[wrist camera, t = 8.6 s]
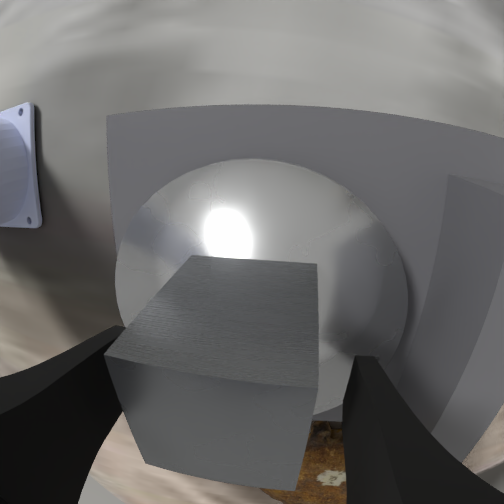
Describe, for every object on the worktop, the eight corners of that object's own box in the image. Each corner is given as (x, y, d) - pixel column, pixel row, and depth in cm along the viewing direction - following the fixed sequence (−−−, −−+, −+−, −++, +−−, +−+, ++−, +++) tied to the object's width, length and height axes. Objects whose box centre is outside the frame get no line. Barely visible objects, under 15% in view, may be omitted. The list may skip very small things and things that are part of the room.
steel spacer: (200, 352, 13) (145, 463, 8) (191, 254, 12) (103, 354, 6) (306, 364, 13) (294, 491, 7) (317, 263, 11) (318, 388, 6)
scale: (157, 374, 20) (111, 451, 13) (128, 116, 14) (25, 118, 8) (427, 397, 17) (450, 483, 11) (494, 139, 11) (591, 156, 5)
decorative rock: (414, 478, 22) (367, 390, 19) (421, 511, 18) (376, 434, 15) (308, 511, 25) (226, 438, 22) (306, 541, 21) (215, 478, 18)
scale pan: (146, 387, 16) (140, 397, 15) (110, 160, 12) (99, 163, 11) (368, 415, 14) (369, 426, 14) (425, 172, 10) (433, 175, 9)
